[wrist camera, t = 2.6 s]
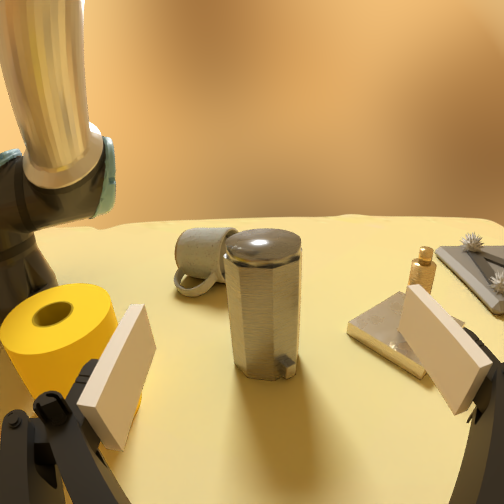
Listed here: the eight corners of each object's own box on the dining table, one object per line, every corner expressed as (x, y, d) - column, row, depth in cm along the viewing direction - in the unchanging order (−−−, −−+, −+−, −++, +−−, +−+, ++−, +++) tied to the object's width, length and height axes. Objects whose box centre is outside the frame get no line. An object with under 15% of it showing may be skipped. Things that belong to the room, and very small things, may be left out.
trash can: (221, 348, 30) (208, 235, 25) (269, 329, 32) (266, 222, 28) (263, 394, 24) (258, 266, 19) (315, 367, 26) (325, 245, 22)
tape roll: (117, 454, 17) (64, 367, 14) (30, 420, 18) (-20, 339, 15) (156, 371, 26) (131, 285, 23) (76, 357, 27) (47, 281, 24)
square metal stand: (346, 333, 31) (356, 245, 27) (397, 301, 35) (409, 226, 32) (420, 379, 23) (451, 284, 19) (461, 333, 27) (484, 252, 24)
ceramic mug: (200, 263, 50) (194, 218, 47) (246, 269, 47) (242, 221, 44) (162, 294, 41) (152, 242, 38) (212, 305, 38) (205, 248, 35)
